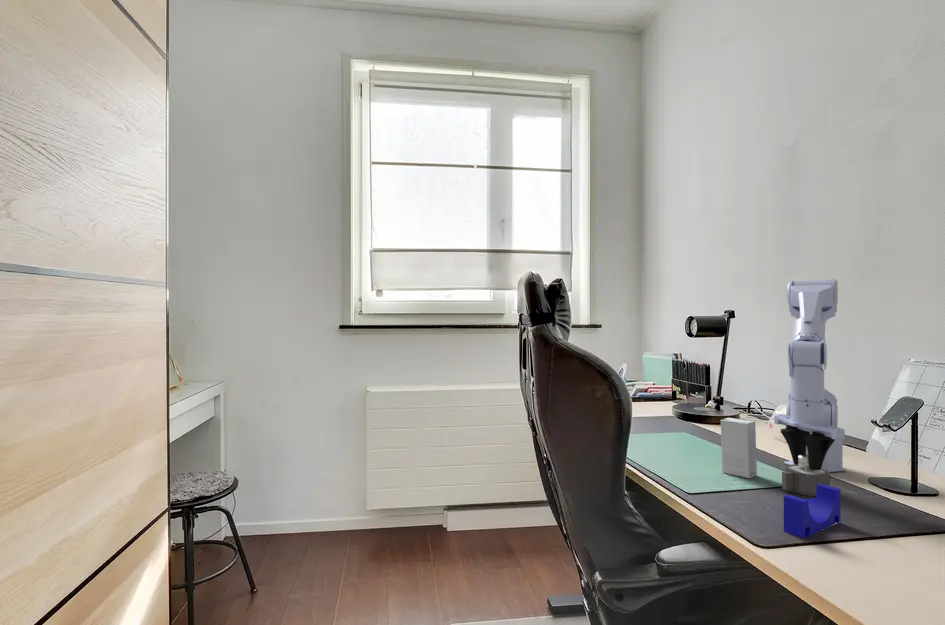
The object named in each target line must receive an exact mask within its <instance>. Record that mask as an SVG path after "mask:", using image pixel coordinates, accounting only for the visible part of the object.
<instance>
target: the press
mask: <svg viewBox="0 0 945 625" xmlns="http://www.w3.org/2000/svg"><path fill="white" fill-rule="evenodd" d="M830 475H831V474H830V472H829V471H828V470H825V469H822V468H821V470H810V471H805V470H804V467H801V466H799V465H796V464H792V465H787V464H785V471H782V472H781V489H782V490H785V491H789V492H792V493H794V492H795V493H794V494H797V493H798V495H801V494H802V496H806V495H808V496H807V497H812V496H816V492H817V485H819V484H824V485H827V486H830V484H831V483H830V480H831V478H830V477H831V476H830Z"/></svg>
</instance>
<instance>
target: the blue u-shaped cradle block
mask: <svg viewBox="0 0 945 625" xmlns="http://www.w3.org/2000/svg"><path fill="white" fill-rule="evenodd" d="M841 500H842V499H841V488H838V487H833V486H827V485H824V484H819V485H817V492H816V497H811V498H809V499H805V498H803V497H802V498H801V497H798V496H796V495H791V494H787V495H783V532H784V533H787V534H790V535H793V536H795V537H798V538H800V539H805V538H808V537H810V536H812V534H813V535H814V533H815V534H816V532H817V533H819V532H818V531H820V530H822V529H825V528H827V527H829V526H831V525H833V524H835V522H837V523H839V522H840V523H841V519H842V518H841ZM840 523H839V524H840ZM829 528H830V527H829ZM827 529H828V528H827ZM825 530H826V529H825ZM822 531H823V530H822ZM820 532H821V531H820Z"/></svg>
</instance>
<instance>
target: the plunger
mask: <svg viewBox="0 0 945 625" xmlns="http://www.w3.org/2000/svg"><path fill="white" fill-rule="evenodd" d="M798 465H799V466H801V467H804V470H805V471H810V468H809V460H808V454H798Z"/></svg>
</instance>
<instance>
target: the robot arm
mask: <svg viewBox="0 0 945 625" xmlns="http://www.w3.org/2000/svg"><path fill="white" fill-rule="evenodd" d="M838 292H839V286H838V281H837V279H835V278H832V279H816V280H815V279H812V280H808V279H807V280H792V279H791V280H790V281H789V282H788V283H787V295H786V296H787V304H788V310H789V313H790V316H791V317H792V318H796V320H795V321H794V323H793V326H792V334H791V336H792V337H791V343H788V345H787V364H788V371H789V372H788V374H789V375H788V376H789V377H790V391H789V392H788V394H787V400H786V401H787V402H786V406H785V407H786V408H785V409H786V410H785V412H786V413H785V414H782V413H781V414H774V415H773V418H774V422H773V423H774V424H775V425H781V426H785V428H781V429H780V434H782V436H783V438H784V440H785V442H786V443H787V446H788V448H789V452H790V455H791V458H792V460H787V461H783V464H785V465H792V464H796V465H798V454H808V460H809V468H810V470H821V468H822V469H825V470H828V471H829V473H835V472H846V471H847V468H846V467H843V465H844V464H843V461H844V460H843V457H844V456H843V452H844V451H843V440H845V439H846V438H845V434H846V433H845V431H846V430H845V429H844V428H840V427H838V424H839V423H838V420H839V418H838V415H839V414H838V411H839V410H838V409H839V408H838V399H837V398H836V395H835V394H833V393H832V392H830V391H829V390H827V389H826V388H825V370H826V369H827V364H828V350H827V349H828V348H827V343H826V323H827V321H828V320H830V319H832V318H834V317H836V316H837V315H836V313H837V312H838V303H839V302H838V299H839V296H838Z"/></svg>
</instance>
